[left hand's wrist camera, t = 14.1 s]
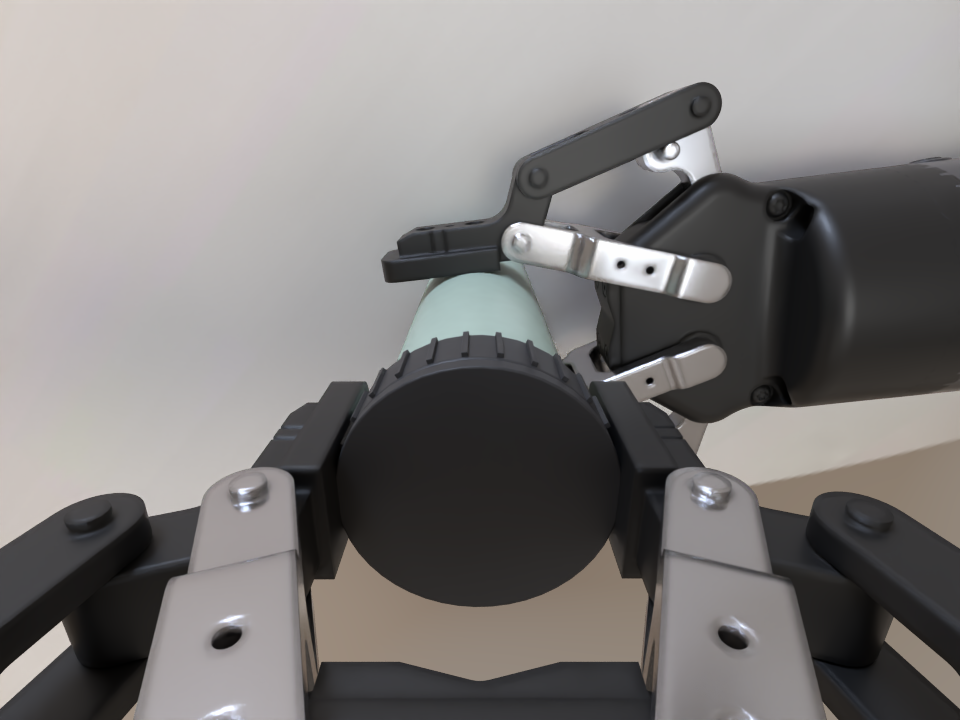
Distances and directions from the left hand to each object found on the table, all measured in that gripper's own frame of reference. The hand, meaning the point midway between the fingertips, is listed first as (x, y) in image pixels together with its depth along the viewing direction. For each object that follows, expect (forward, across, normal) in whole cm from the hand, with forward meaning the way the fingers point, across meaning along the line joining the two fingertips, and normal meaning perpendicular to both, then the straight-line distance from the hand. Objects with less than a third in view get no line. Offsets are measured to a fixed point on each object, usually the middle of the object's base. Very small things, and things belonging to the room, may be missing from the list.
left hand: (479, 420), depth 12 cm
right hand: (+7, -3, 0) cm, 7 cm away
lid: (-3, 0, 0) cm, 3 cm away
